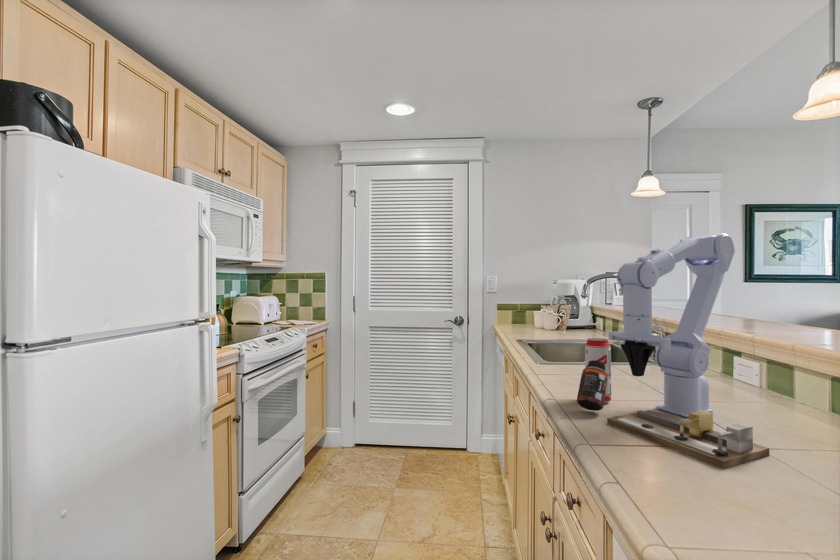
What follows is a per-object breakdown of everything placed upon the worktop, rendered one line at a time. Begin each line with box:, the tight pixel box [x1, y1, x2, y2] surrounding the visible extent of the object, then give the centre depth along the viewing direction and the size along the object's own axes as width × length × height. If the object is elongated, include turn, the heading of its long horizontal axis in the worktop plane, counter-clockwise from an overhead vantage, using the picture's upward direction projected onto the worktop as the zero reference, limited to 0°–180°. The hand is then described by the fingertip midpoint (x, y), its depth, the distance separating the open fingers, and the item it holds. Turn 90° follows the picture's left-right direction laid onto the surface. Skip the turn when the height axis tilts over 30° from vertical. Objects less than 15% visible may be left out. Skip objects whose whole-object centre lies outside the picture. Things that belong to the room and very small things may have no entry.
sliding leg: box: [680, 410, 714, 438], centre depth 79 cm, size 8×2×4 cm, turn 113°
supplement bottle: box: [576, 360, 608, 412], centre depth 100 cm, size 6×6×11 cm
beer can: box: [584, 337, 612, 404], centre depth 108 cm, size 6×6×16 cm
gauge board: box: [606, 409, 770, 470], centre depth 82 cm, size 13×24×5 cm, turn 23°
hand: (638, 375), depth 93 cm, fingers closed
